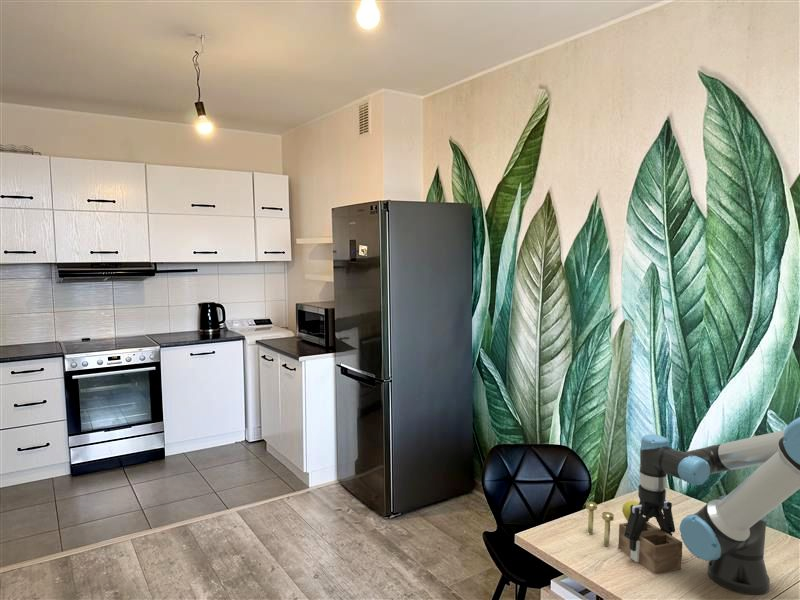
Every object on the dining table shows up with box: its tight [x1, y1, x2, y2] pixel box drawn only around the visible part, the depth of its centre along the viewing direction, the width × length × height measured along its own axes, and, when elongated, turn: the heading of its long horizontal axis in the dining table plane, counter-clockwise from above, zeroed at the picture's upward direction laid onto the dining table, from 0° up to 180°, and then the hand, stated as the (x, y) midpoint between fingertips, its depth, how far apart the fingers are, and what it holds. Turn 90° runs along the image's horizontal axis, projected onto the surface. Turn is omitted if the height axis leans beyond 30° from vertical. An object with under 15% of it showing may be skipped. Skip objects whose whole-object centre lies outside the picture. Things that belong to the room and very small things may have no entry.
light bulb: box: [621, 500, 644, 522], centre depth 187 cm, size 7×7×10 cm
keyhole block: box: [617, 521, 684, 575], centre depth 170 cm, size 15×10×8 cm, turn 19°
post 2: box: [601, 511, 615, 547], centre depth 177 cm, size 3×3×10 cm
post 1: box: [585, 501, 598, 535], centre depth 185 cm, size 3×3×10 cm
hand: (648, 557), depth 170 cm, fingers closed on keyhole block, 10 cm apart
